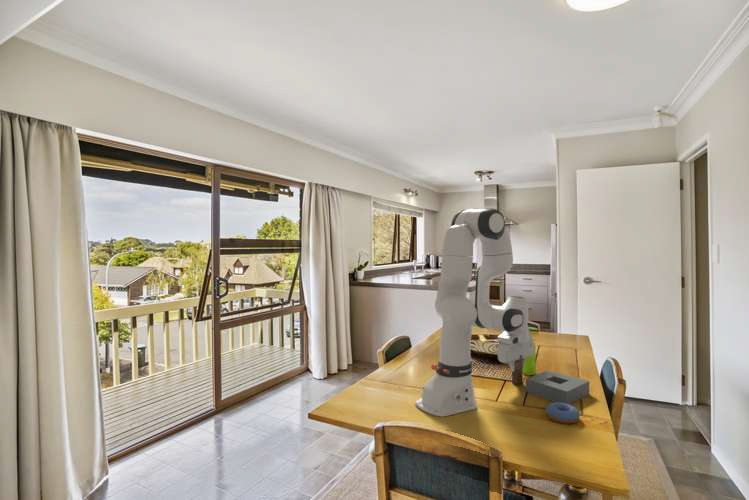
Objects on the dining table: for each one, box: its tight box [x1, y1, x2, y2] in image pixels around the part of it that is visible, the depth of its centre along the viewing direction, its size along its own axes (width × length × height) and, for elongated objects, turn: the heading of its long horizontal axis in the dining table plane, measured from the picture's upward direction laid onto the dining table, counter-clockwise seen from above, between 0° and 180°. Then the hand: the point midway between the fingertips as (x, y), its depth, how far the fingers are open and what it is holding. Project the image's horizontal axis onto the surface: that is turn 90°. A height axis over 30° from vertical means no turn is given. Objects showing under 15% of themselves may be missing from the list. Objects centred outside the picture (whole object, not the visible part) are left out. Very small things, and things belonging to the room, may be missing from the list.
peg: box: [511, 355, 524, 386], centre depth 155 cm, size 4×4×12 cm
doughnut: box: [545, 401, 581, 425], centre depth 125 cm, size 10×10×5 cm
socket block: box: [525, 369, 590, 405], centre depth 145 cm, size 16×16×5 cm
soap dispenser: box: [522, 326, 539, 376], centre depth 167 cm, size 6×7×20 cm
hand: (517, 369), depth 155 cm, fingers closed on peg, 4 cm apart
